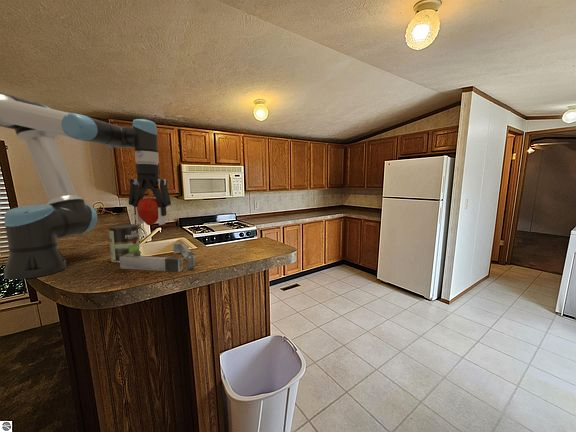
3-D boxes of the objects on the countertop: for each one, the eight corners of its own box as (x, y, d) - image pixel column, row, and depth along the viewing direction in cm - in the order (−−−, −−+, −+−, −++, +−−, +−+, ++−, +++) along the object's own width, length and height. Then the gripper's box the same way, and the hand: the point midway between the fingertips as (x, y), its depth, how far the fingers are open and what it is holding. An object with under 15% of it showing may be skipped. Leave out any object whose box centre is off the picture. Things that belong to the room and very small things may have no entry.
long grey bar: (195, 268, 90) (195, 255, 90) (189, 272, 86) (188, 259, 85) (129, 264, 93) (128, 252, 92) (120, 268, 89) (119, 255, 88)
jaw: (195, 265, 93) (194, 254, 92) (183, 267, 90) (182, 256, 90) (183, 251, 112) (183, 242, 111) (173, 252, 109) (173, 243, 109)
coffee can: (146, 256, 104) (144, 224, 102) (125, 263, 94) (123, 228, 92) (126, 254, 106) (123, 223, 104) (104, 261, 96) (101, 227, 94)
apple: (165, 225, 91) (164, 197, 89) (140, 227, 85) (137, 197, 84) (160, 222, 97) (159, 196, 96) (136, 224, 92) (134, 196, 90)
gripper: (113, 162, 86) (118, 224, 89) (167, 163, 83) (170, 226, 86) (129, 164, 93) (133, 221, 96) (179, 164, 91) (182, 223, 94)
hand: (151, 223), depth 91 cm, fingers closed on apple, 8 cm apart
